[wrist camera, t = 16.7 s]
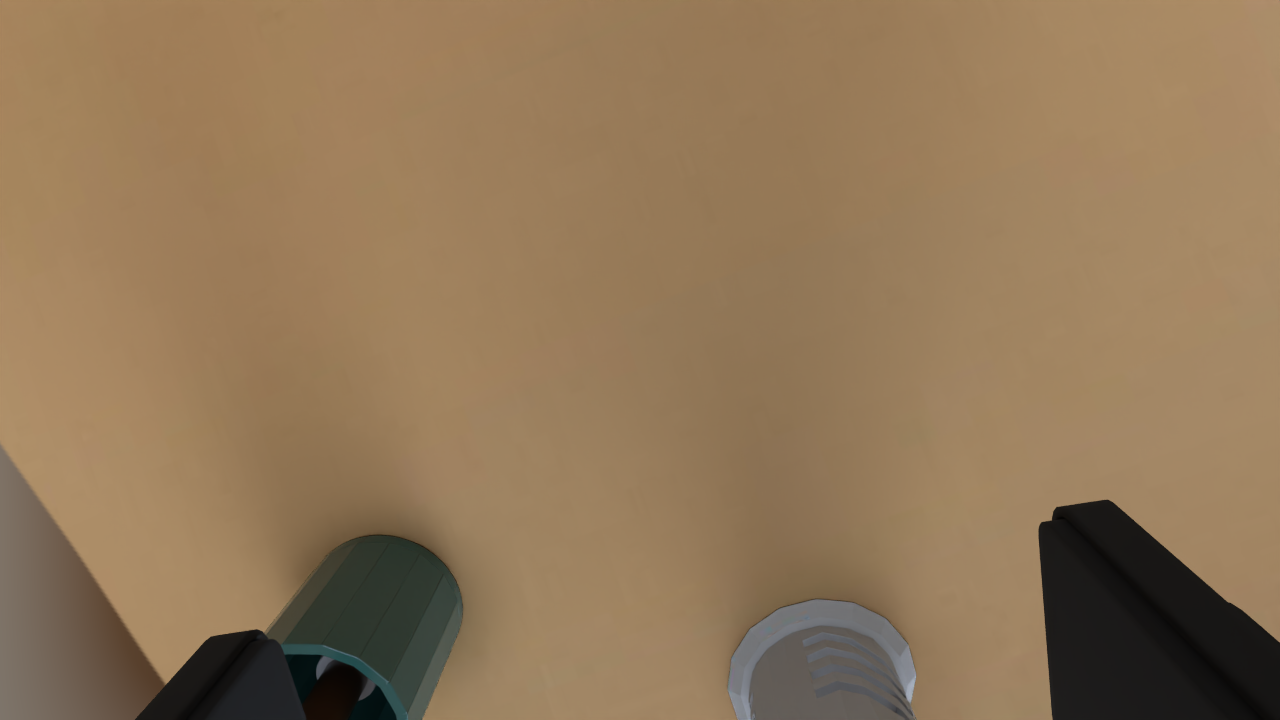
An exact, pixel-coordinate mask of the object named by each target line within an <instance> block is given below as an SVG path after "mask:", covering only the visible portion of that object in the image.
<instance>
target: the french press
mask: <svg viewBox="0 0 1280 720" xmlns="http://www.w3.org/2000/svg"><path fill="white" fill-rule="evenodd" d="M915 679H916V672H915V668H914V664H913V661H912V657H911V653H910V649H909V646H908V643H907V642H906V641H905V640H904V639H903V638H902V636H901V635H900V634H899V633H898V632H897V631H896V630H895V628H894V627H893V626H892V625H891V624H890V623H889V621H888V620H887V619H886V618H884V617H882V616H880V615H878V614H876V613H874V612H872V611H870V610H868V609H866V608H864V607H862V606H860V605H858V604H855V603H853V602H842V601H832V600H821V599H814V600H810V601H806V602H802V603H798V604H795V605H791V606H787V607H783V608H779V609H778V610H776V611H775V612H774V613H772V614H771V615H769V616H768V617H766V618H765V619H763V620H762V621H761V622H759V623H758V624H756V625H755V626H753V627H752V628H751V629H749V631H748V633H747V634H746V636H745V637H744V639H743V640H742V642H741V644H740V645H739V647H738V648H737V650H736V651H735V653H734V655H733V656H732V659H731V666H730V674H729V681H728V692H729V695H730V698H731V701H732V704H733V707H734V710H735V713H736V716H737V719H738V720H915V719H916V717H915V715H914V713H913V710H912V708H911V705H910V704H911V699H912V694H913V689H914V684H915ZM913 715H914V717H915V719H914V718H913ZM916 720H917V719H916Z"/></svg>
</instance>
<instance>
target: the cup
mask: <svg viewBox="0 0 1280 720" xmlns="http://www.w3.org/2000/svg"><path fill="white" fill-rule="evenodd" d="M462 615H463V605H462V599H461V594H460V591H459V588H458V586H457V583H456V581H455V579H454V577H453V576H452V574H451V573H450V571H449V570H448V568H447V567H446V566H445V565H444V564H443V562H441V561H440V560H439V559H438V558H437V557H436V556H435V555H434V554H432V553H431V552H430V551H428V550H427V549H425V548H423V547H422V546H420V545H418V544H416V543H413V542H411V541H409V540H405V539H402V538H398V537H393V536H384V535H374V536H365V537H360V538H356V539H353V540H350V541H348V542H346V543H344V544H342V545H340V546H338V547H337V548H335V549H334V550H333V551H331V552H330V553H329V554H328V555H327V556H326V557H325V558H324V560H323V561H322V562H321V563H320V564H319V566H318V567H317V568H316V569H315V570H314V571H313V572H312V573H311V574H310V575H309V577H308V578H307V579H306V580H305V582H304V583H303V584H302V585H301V587H300V588H299V589H298V590H297V592H296V593H295V594H294V595H293V597H292V598H291V599H290V600H289V602H288V603H287V604H286V605H285V607H284V608H283V609H282V610H281V612H280V613H279V614H278V615H277V617H276V618H275V619H274V621H273V622H272V623H271V624H270V626H269V627H268V628H267V629H266V631H265V632H264V634H265V635H266V636H267V637H268V639H274V640H277V641H278V643H279V644H280V645H281V647H282V649H283V652H284V655H285V658H286V661H287V664H288V667H289V670H290V672H291V675H292V678H293V681H294V684H295V687H296V690H297V693H298V696H299V699H300V702H301V705H302V704H303V702H304V701H305V699H306V698H307V696H308V694H309V693H310V691H311V690H312V688H313V687H314V685H315V683H316V682H317V676H316V669H317V665H318V662H319V661H320V659H321V655H323V656H326V657H329V658H331V659H334V660H337V661H340V662H343V663H345V664H348V665H351V666H354V667H355V668H356V669H357V670H359V671H360V672H361V673H362V674H364V675H365V676H366V677H367V678H369V679H370V680H371V681H372V682H374V683H375V684H376V685H377V686H375V688H374V690H373V691H372V693H371V694H370V695H369V696H367V697H366V698H364V699H362V700H359V701H357V703H356V705H355V707H354V709H353V711H352V712H351V714H350V716H349V718H348V720H423V717H424V715H425V712H426V710H427V708H428V705H429V703H430V700H431V698H432V696H433V693H434V691H435V688H436V686H437V684H438V681H439V679H440V676H441V674H442V672H443V669H444V667H445V664H446V662H447V660H448V657H449V655H450V652H451V650H452V647H453V645H454V642H455V639H456V637H457V635H458V632H459V629H460V626H461V622H462Z"/></svg>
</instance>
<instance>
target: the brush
mask: <svg viewBox="0 0 1280 720" xmlns="http://www.w3.org/2000/svg"><path fill="white" fill-rule="evenodd" d="M316 676H317V682H316V683H315V685H314V687H313V688H312V690H311V691H310V693H309V694H308V696H307V698H306V699H305V701H304V702H303V704H302V708H303V711H304V713H305V716H306V719H307V720H348V718H349V716H350V714H351V712H352V711H353V709H354V707H355V705H356V703H357V701H359V700H362V699H364V698H366V697H367V696H369V695H370V694H371V693H372V691H373V690H374V688H375V686H377V685H376V684H375V683H374V682H372V681H371V680H370V679H369V678H367V677H366V676H365V675H364V674H362V673H361V672H360V671H359V670H357V669H356V668H355V667H354V666H351V665H348V664H345V663H343V662H340V661H337V660H334V659H331V658H329V657H326V656H323V655H321V659H320V661H319V662H318V665H317V669H316Z"/></svg>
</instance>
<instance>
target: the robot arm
mask: <svg viewBox="0 0 1280 720" xmlns="http://www.w3.org/2000/svg"><path fill="white" fill-rule="evenodd" d="M1039 548H1040V562H1041V575H1042V588H1043V601H1044V614H1045V628H1046V641H1047V654H1048V667H1049V680H1050V694H1051V707H1052V717H1053V720H1280V643H1279V642H1278V641H1277V640H1276V639H1275V638H1274V637H1272V636H1271V635H1270V634H1269V633H1268V632H1267V631H1266V630H1264V629H1263V628H1262V627H1261V626H1260V625H1259V624H1257V623H1256V622H1255V621H1254V620H1253V619H1252V618H1250V617H1249V616H1248V615H1247V614H1246V613H1245V612H1243V611H1242V610H1241V609H1239V608H1238V607H1236V606H1235V605H1233V604H1231V603H1228V602H1227V601H1226V600H1224V599H1223V598H1222V597H1221V596H1220V595H1219V594H1218V593H1216V592H1215V591H1214V590H1213V589H1212V588H1211V587H1210V586H1208V585H1207V584H1206V583H1205V582H1204V581H1203V580H1202V579H1200V578H1199V577H1198V576H1197V575H1196V574H1195V573H1193V572H1192V571H1191V570H1190V569H1189V568H1188V567H1187V566H1185V565H1184V564H1183V563H1182V562H1181V561H1180V560H1179V559H1177V558H1176V557H1175V556H1174V555H1173V554H1172V553H1171V552H1169V551H1168V550H1167V549H1166V548H1165V547H1164V546H1162V545H1161V544H1160V543H1159V542H1158V541H1157V540H1156V539H1154V538H1153V537H1152V536H1151V535H1150V534H1149V533H1148V532H1146V531H1145V530H1144V529H1143V528H1142V527H1141V526H1140V525H1138V524H1137V523H1136V522H1135V521H1134V520H1133V519H1131V518H1130V517H1129V516H1128V515H1127V514H1126V513H1125V512H1123V511H1122V510H1121V509H1120V508H1119V507H1118V506H1117V505H1115V504H1114V503H1113V502H1111V501H1109V500H1101V501H1094V502H1088V503H1081V504H1075V505H1068V506H1061V507H1056V509H1055V510H1054V512H1053V516H1052V521H1046V522H1042V523H1041V524H1040V526H1039ZM135 720H307V719H306V716H305V713H304V711H303V708H302V705H301V702H300V699H299V696H298V693H297V690H296V687H295V684H294V681H293V678H292V675H291V672H290V670H289V667H288V664H287V661H286V658H285V655H284V652H283V649H282V647H281V645H280V644H279V643H278V641H277V640H274V639H268V637H267V636H266V635H265V634H264V633H263V632H262V631H260V630H257V629H256V630H249V631H243V632H236V633H230V634H223V635H217V636H212V637H210V638H209V639H207V640H206V641H205V642H204V643H203V644H202V645H201V646H200V648H199V649H198V650H197V651H196V652H195V653H194V654H193V655H192V656H191V658H190V659H189V660H188V661H187V662H186V663H185V664H184V665H183V667H182V668H181V669H180V670H179V671H178V672H177V673H176V674H175V675H174V677H173V678H172V679H171V680H170V681H169V682H168V683H167V684H166V686H165V687H164V688H163V689H162V690H161V691H160V692H159V693H158V694H157V696H156V697H155V698H154V699H153V700H152V701H151V702H150V703H149V705H148V706H147V707H146V708H145V709H144V710H143V711H142V712H141V713H140V715H139V716H138V717H137V718H136V719H135Z"/></svg>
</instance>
